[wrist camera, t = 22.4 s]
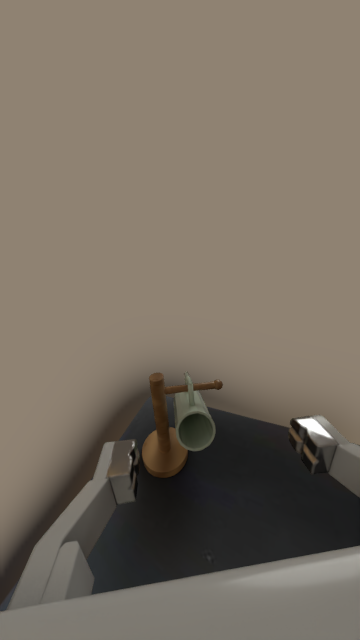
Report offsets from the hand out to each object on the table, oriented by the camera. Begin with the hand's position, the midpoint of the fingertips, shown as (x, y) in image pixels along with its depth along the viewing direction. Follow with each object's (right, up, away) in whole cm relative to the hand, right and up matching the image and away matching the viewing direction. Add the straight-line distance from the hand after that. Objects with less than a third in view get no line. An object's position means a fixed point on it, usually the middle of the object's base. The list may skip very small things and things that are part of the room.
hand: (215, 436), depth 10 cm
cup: (0, -9, +30) cm, 32 cm away
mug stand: (-1, -20, +27) cm, 34 cm away
